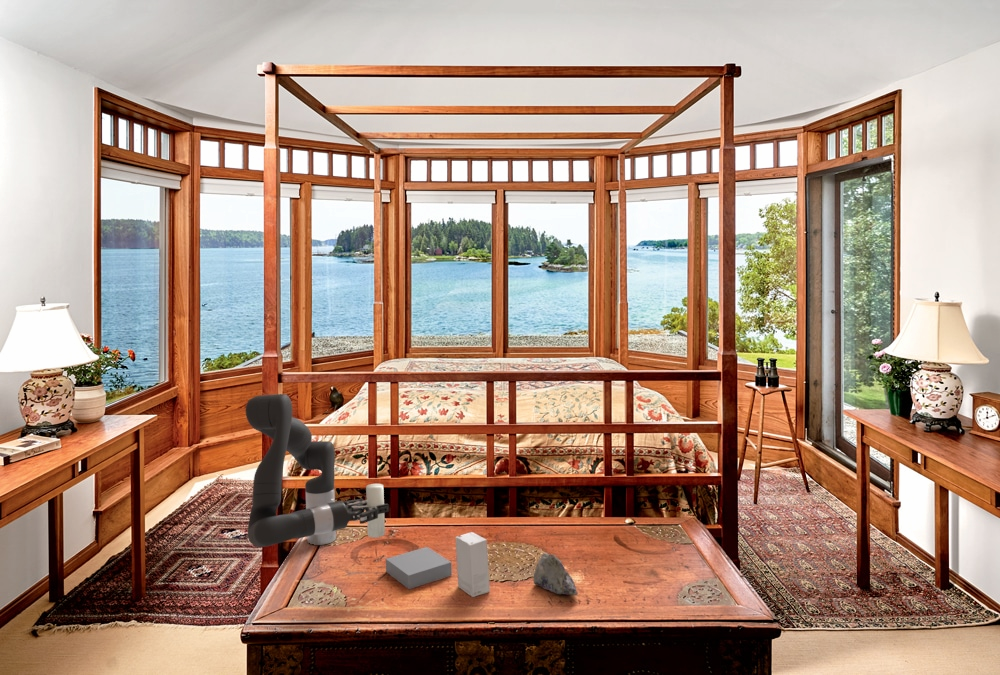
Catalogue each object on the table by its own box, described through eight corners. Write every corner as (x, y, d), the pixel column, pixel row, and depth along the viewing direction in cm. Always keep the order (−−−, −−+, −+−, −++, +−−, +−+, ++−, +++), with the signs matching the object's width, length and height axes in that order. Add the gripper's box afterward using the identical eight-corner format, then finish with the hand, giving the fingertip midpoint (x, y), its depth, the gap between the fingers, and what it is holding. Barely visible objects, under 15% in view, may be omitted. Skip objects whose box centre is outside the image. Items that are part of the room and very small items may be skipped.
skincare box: (490, 592, 179) (489, 540, 178) (471, 598, 176) (470, 545, 174) (474, 581, 186) (473, 530, 185) (455, 586, 183) (454, 535, 181)
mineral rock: (579, 602, 173) (579, 565, 172) (539, 604, 172) (538, 567, 171) (569, 580, 186) (569, 545, 185) (532, 582, 185) (531, 547, 184)
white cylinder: (364, 533, 186) (363, 485, 185) (380, 529, 189) (378, 482, 188) (372, 539, 182) (370, 490, 181) (387, 534, 185) (386, 486, 184)
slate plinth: (386, 571, 193) (385, 558, 192) (427, 559, 201) (427, 546, 201) (408, 589, 181) (408, 575, 181) (451, 575, 190) (451, 562, 189)
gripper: (336, 511, 170) (395, 498, 180) (316, 497, 182) (373, 485, 192) (337, 539, 171) (396, 525, 181) (317, 523, 183) (374, 510, 193)
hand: (384, 504), depth 186 cm, fingers closed on white cylinder, 4 cm apart
